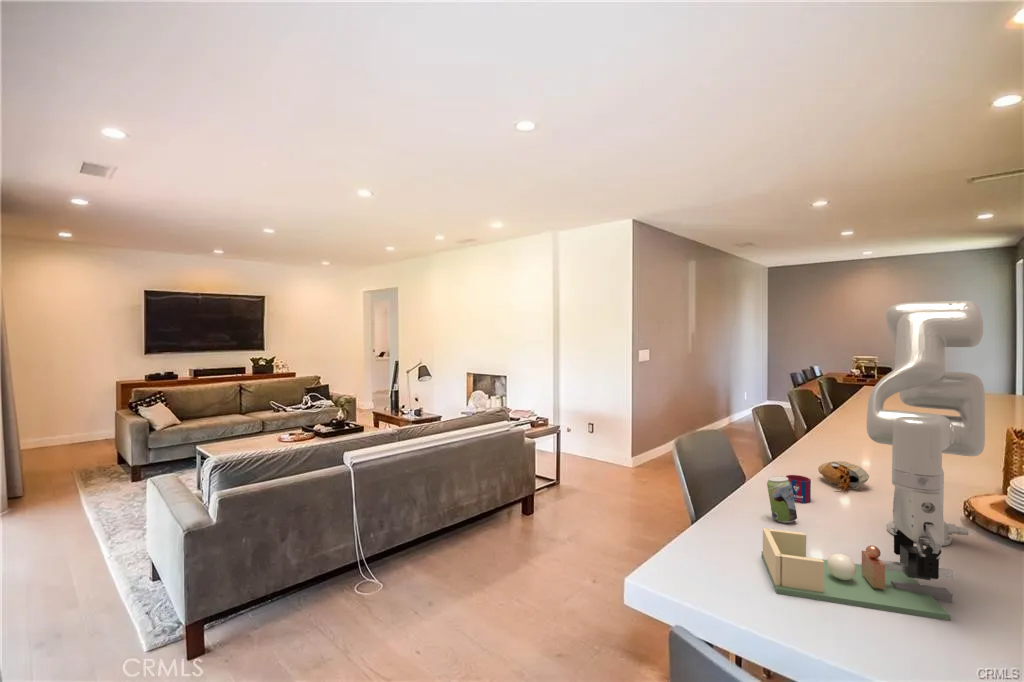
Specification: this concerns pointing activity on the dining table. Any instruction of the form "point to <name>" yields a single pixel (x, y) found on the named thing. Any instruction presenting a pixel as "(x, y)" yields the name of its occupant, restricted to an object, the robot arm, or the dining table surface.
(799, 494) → the mug
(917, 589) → the pitch
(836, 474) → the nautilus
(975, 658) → the dining table surface
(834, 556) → the ball
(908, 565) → the copper sphere contraption
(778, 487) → the beverage can
